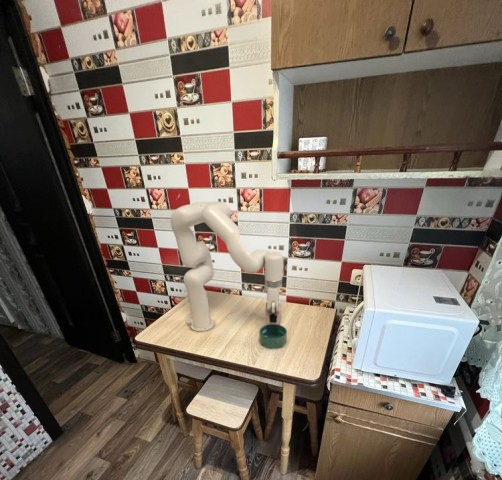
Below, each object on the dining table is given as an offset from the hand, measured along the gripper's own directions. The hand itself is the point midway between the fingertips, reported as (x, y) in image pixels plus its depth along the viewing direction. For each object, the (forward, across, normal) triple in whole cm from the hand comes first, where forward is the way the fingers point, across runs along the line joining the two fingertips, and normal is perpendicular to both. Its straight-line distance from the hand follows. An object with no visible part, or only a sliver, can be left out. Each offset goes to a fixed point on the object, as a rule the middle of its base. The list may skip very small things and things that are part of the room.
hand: (273, 318), depth 128 cm
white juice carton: (+2, 0, 0) cm, 2 cm away
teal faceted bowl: (+13, 0, 0) cm, 13 cm away
